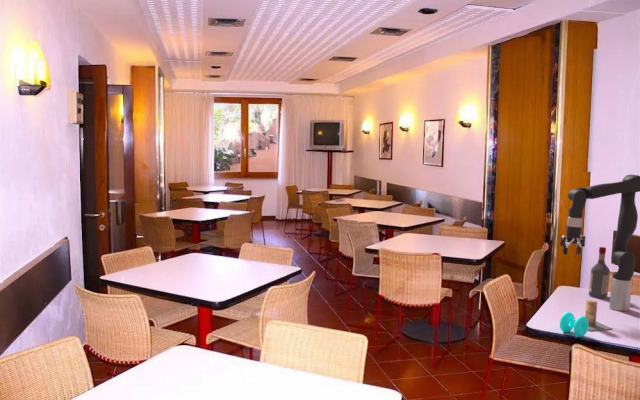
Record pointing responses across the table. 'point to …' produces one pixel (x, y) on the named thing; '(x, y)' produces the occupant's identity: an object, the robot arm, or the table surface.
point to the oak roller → (591, 312)
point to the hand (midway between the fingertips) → (571, 254)
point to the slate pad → (598, 327)
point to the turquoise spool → (574, 324)
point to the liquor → (599, 277)
